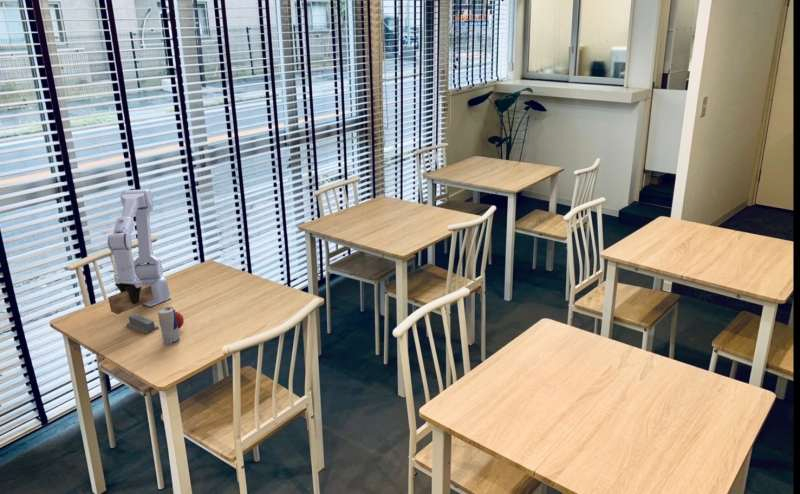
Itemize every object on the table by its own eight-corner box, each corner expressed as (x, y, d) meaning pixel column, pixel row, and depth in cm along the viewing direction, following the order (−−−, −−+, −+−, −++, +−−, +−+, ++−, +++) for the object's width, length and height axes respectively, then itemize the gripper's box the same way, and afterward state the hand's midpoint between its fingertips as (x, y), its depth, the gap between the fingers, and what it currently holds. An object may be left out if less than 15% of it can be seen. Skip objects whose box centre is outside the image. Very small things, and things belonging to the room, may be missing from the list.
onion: (181, 334, 219) (178, 313, 216) (165, 334, 219) (161, 313, 217) (187, 326, 225) (183, 306, 222) (171, 326, 225) (167, 306, 222)
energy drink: (182, 338, 216) (177, 306, 212) (176, 346, 211) (170, 313, 207) (167, 338, 217) (161, 306, 213) (160, 345, 212) (154, 313, 208)
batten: (147, 297, 230) (144, 283, 228) (153, 299, 228) (150, 285, 226) (111, 311, 220) (108, 297, 218) (117, 314, 218) (114, 299, 216)
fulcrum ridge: (139, 320, 231) (137, 312, 230) (158, 328, 224) (157, 320, 223) (126, 325, 227) (125, 317, 226) (146, 334, 220) (144, 325, 219)
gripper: (102, 265, 220) (110, 301, 225) (125, 274, 212) (133, 310, 216) (121, 259, 225) (128, 294, 230) (144, 267, 217) (151, 303, 222)
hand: (132, 301), depth 224 cm, fingers closed on batten, 4 cm apart
